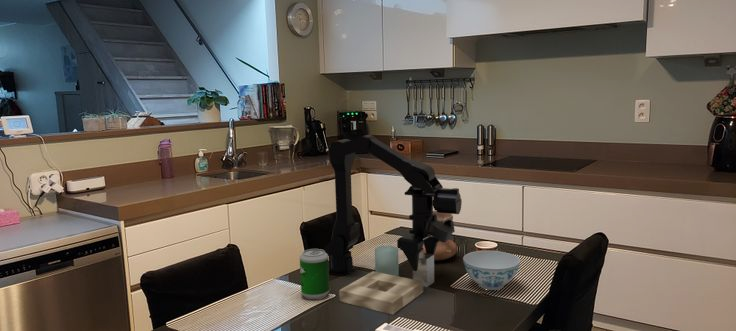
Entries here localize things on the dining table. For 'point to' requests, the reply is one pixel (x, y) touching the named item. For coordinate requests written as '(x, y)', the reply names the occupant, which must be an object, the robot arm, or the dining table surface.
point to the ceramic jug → (443, 248)
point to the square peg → (425, 269)
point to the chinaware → (491, 268)
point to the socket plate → (381, 292)
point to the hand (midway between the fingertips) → (423, 265)
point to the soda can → (314, 274)
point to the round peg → (387, 260)
